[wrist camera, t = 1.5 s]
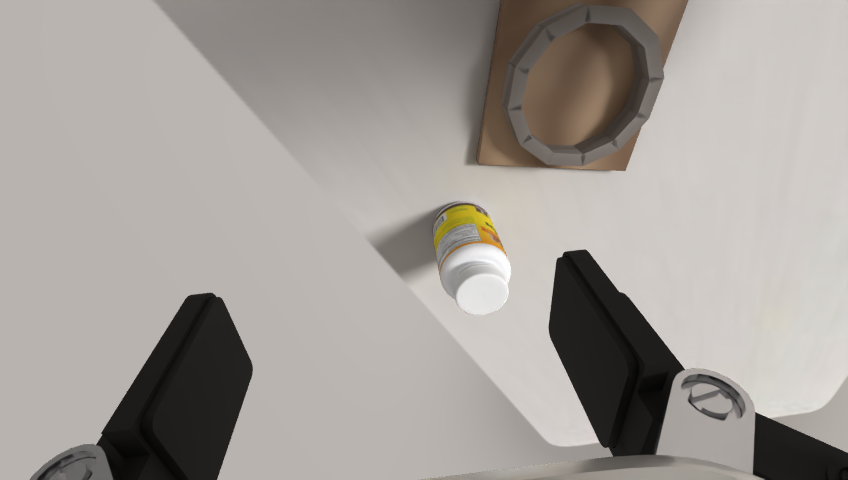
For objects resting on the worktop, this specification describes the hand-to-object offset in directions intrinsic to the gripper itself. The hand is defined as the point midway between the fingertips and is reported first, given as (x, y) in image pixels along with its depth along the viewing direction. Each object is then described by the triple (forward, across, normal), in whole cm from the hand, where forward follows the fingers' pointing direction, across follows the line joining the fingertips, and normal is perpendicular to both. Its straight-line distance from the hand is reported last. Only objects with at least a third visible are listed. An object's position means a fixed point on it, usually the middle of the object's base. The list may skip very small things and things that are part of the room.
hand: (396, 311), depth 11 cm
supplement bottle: (+24, -5, +12) cm, 27 cm away
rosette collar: (+24, -14, 0) cm, 28 cm away
